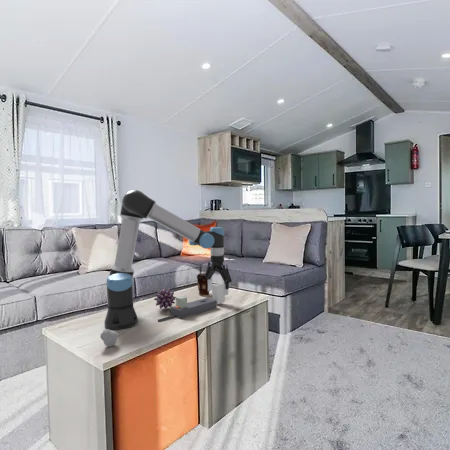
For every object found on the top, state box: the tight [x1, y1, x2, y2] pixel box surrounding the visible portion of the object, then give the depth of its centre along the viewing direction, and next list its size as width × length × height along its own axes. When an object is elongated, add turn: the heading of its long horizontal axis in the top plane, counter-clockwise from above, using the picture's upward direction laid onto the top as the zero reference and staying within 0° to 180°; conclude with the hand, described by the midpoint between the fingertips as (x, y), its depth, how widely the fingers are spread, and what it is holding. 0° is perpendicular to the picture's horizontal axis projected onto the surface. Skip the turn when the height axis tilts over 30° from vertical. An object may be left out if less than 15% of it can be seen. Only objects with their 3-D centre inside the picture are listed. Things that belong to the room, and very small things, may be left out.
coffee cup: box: [196, 272, 210, 297], centre depth 210 cm, size 9×8×13 cm
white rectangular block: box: [211, 282, 226, 306], centre depth 189 cm, size 5×5×11 cm
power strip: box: [157, 297, 218, 323], centre depth 175 cm, size 34×8×5 cm, turn 132°
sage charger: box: [175, 295, 188, 309], centre depth 172 cm, size 4×4×5 cm
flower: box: [153, 287, 176, 311], centre depth 182 cm, size 12×12×12 cm
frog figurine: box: [99, 328, 119, 348], centre depth 136 cm, size 6×7×7 cm
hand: (217, 292), depth 189 cm, fingers open, 13 cm apart
